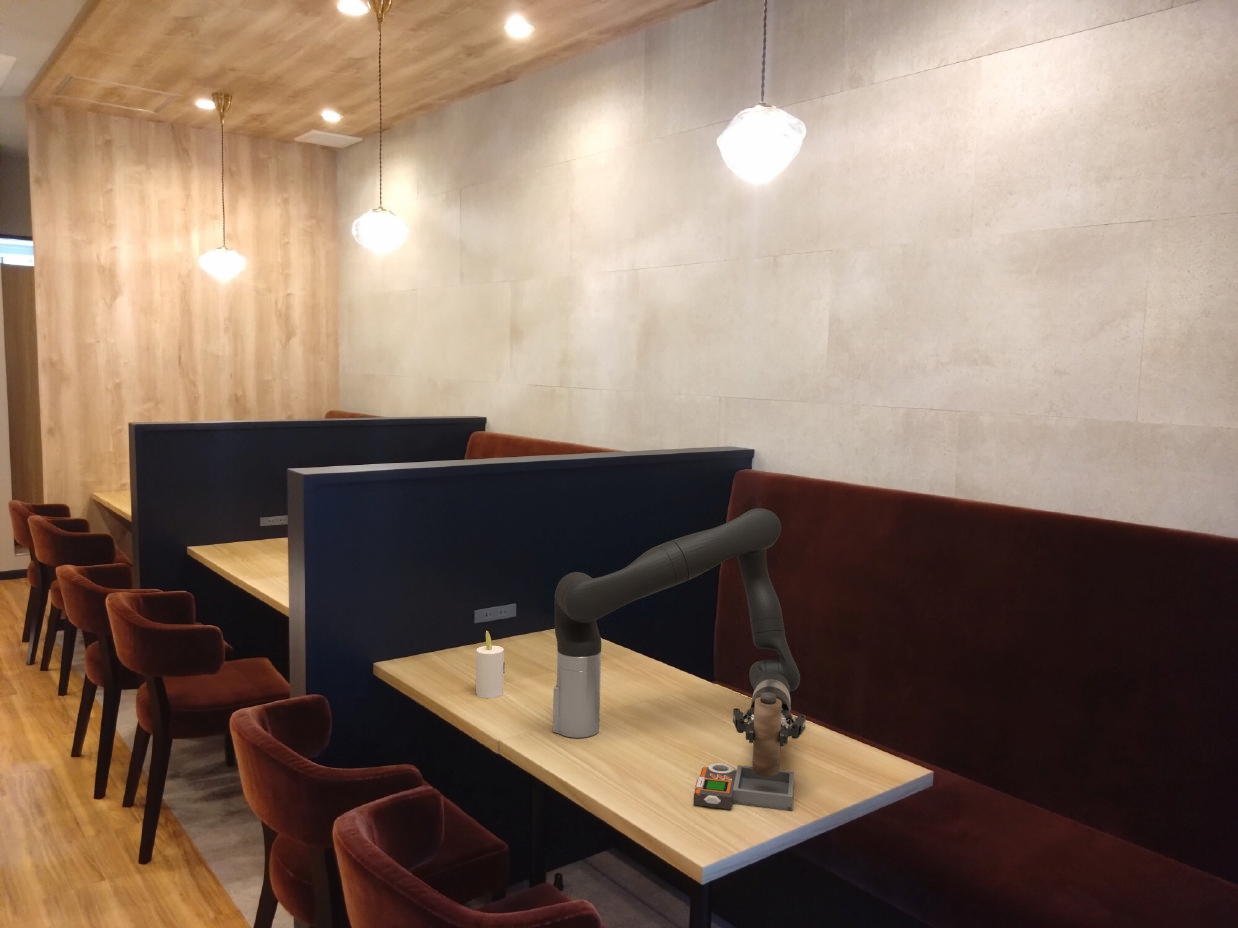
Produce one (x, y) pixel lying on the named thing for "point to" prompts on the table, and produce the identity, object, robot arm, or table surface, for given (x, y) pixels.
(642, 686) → the table surface
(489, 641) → the candle
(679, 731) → the table surface
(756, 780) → the tray
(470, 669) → the table surface
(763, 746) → the pepper mill
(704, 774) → the electronic device
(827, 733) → the table surface
